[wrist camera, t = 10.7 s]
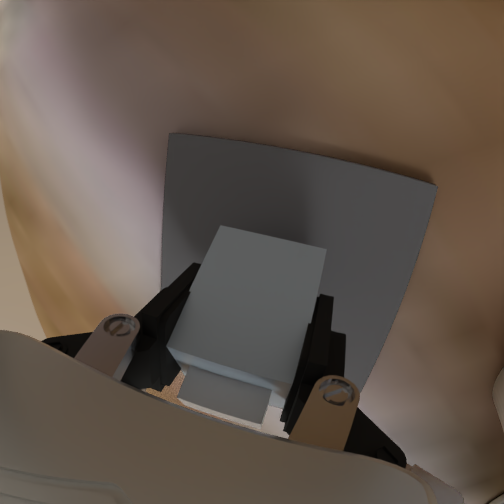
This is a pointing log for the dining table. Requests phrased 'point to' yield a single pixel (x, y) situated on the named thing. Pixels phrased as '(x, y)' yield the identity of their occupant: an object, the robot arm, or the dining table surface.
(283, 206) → the mat
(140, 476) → the robot arm
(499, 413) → the white rounded capsule
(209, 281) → the block
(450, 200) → the dining table surface
